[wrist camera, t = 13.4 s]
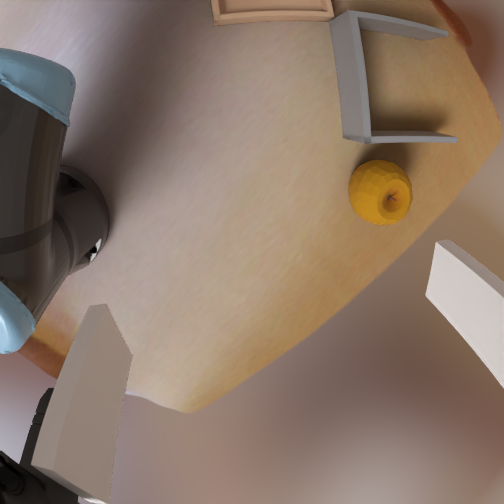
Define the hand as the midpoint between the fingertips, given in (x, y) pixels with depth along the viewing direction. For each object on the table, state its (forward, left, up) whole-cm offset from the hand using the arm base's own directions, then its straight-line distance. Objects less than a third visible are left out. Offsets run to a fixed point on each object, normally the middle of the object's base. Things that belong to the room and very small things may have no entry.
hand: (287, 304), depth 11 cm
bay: (+23, +10, -29) cm, 38 cm away
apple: (+18, -5, -29) cm, 34 cm away
